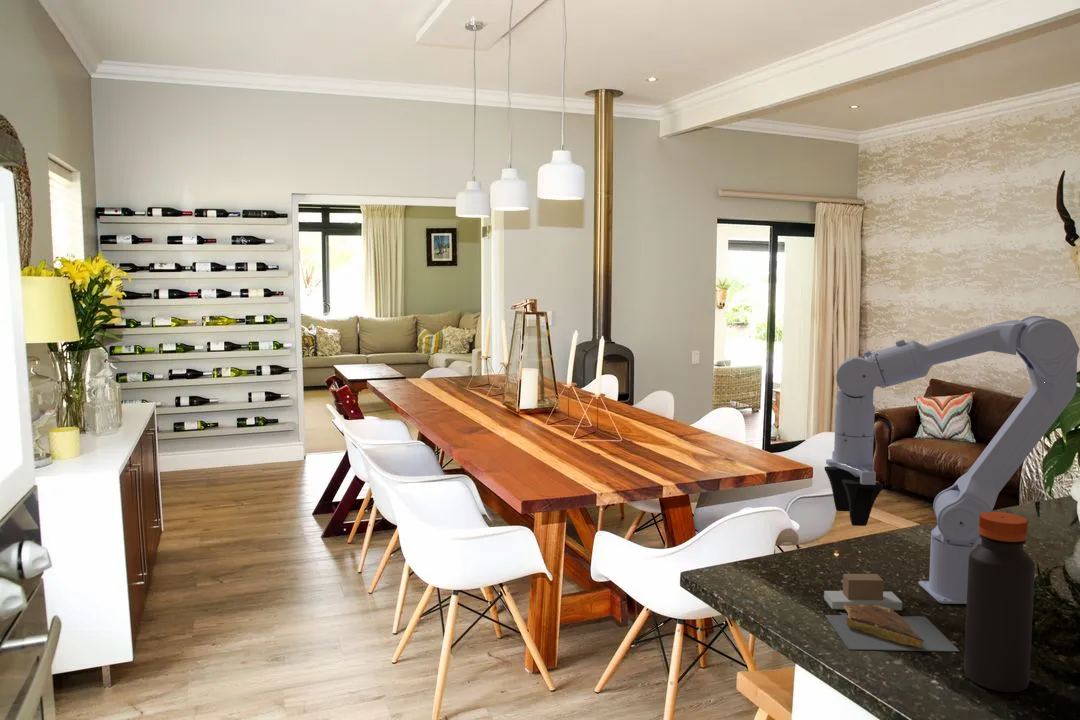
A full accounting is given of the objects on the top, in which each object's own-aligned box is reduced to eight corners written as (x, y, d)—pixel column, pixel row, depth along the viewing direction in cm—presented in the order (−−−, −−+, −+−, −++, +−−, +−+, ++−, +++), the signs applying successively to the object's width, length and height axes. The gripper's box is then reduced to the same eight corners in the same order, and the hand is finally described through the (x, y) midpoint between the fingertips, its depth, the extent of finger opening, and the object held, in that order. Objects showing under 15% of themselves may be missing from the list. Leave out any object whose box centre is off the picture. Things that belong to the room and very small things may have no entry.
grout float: (891, 601, 118) (892, 572, 117) (902, 612, 114) (903, 582, 113) (824, 600, 118) (824, 571, 118) (832, 611, 114) (832, 581, 114)
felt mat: (925, 617, 111) (925, 616, 111) (959, 651, 101) (959, 650, 101) (824, 615, 112) (824, 614, 112) (849, 649, 102) (849, 648, 102)
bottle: (1000, 663, 97) (1008, 507, 95) (1042, 691, 91) (1051, 524, 89) (951, 667, 96) (957, 510, 94) (990, 696, 90) (998, 527, 88)
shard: (923, 651, 101) (924, 638, 100) (863, 651, 101) (864, 637, 101) (890, 616, 111) (891, 604, 111) (836, 615, 112) (836, 603, 112)
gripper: (815, 425, 130) (812, 504, 131) (842, 442, 116) (839, 531, 117) (858, 425, 130) (854, 505, 131) (891, 443, 115) (887, 532, 117)
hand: (850, 517), depth 124 cm, fingers open, 7 cm apart
